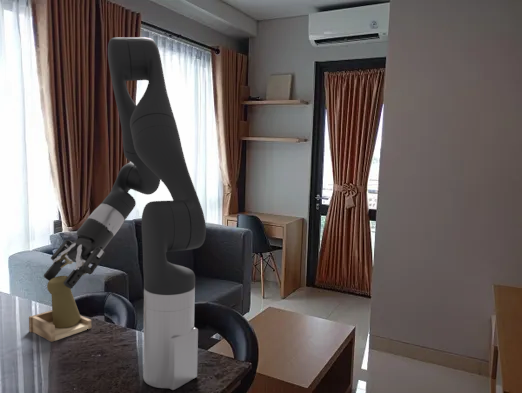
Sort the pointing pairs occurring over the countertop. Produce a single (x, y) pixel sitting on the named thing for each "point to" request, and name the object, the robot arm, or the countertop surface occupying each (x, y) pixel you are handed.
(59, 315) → the cork
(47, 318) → the wooden open tray
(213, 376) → the countertop surface
